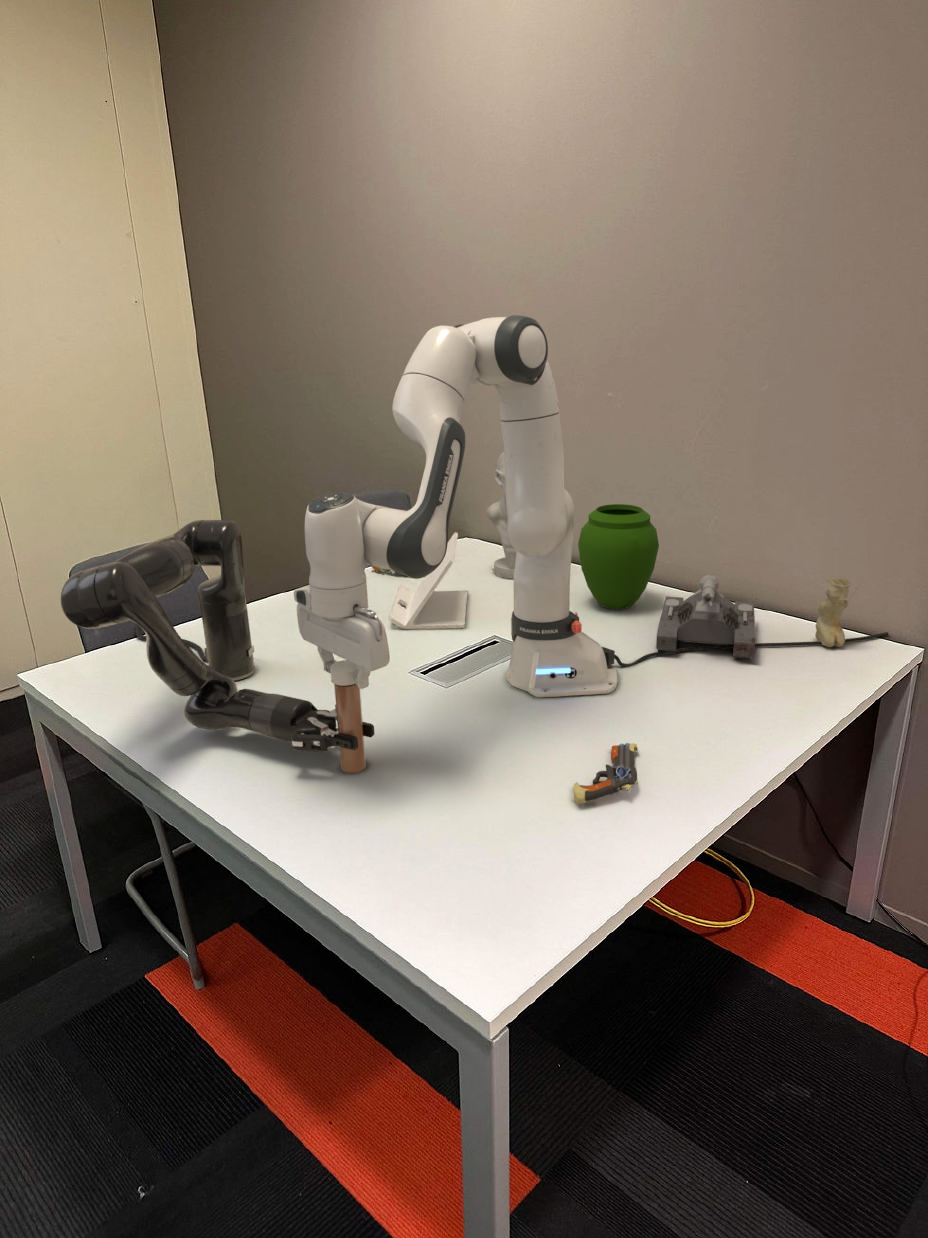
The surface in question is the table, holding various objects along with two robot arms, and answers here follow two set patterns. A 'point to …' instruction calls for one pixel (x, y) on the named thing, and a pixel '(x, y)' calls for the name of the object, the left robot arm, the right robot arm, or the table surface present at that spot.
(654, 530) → the vase
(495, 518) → the bust sculpture
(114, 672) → the table surface
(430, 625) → the tablet stand
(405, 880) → the table surface
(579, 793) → the toy gun
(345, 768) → the jar
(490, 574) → the table surface
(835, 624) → the sculpture
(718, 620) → the toy
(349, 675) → the lid
